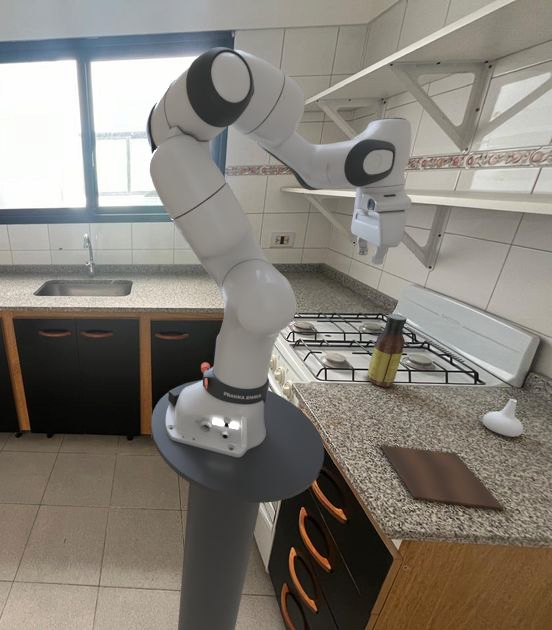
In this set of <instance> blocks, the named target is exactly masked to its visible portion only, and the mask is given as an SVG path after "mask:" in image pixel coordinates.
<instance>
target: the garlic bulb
mask: <svg viewBox="0 0 552 630" xmlns="http://www.w3.org/2000/svg"><path fill="white" fill-rule="evenodd" d="M517 403H518V400H517V399H515V398H509V400H508V402H507V403H506V404H505V406H504V407H503V408H502V409H501V410H500V411H496V410H495V411H490V412H487V413H486V414H484V415H483V417H482V424H483V426H485V428H486V429H488V430H490V431H492V432H494V433H496V434H499V435H501V436H505V437H513V438H515V437H519V436H521V435H522V434H523V433H524V425H523V422H521V420H519V418H517V417H516V408H517Z"/></svg>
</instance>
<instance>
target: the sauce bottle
mask: <svg viewBox="0 0 552 630" xmlns="http://www.w3.org/2000/svg"><path fill="white" fill-rule="evenodd" d="M407 319H408V318H407V317H406V316H405V315H402V314H398V313H389V314H388V315H387V317H386V323H385V326H384V329H383V331H382V332H380V334H379V335H378V336H377V338H376V340H375V343H374V346H373V350H372V354H371V357H370V361H369V366H368V370H367V376H366V378H367V380H368V381H369V382H370V383H371V384H373V385H375V386H379V387H385V388H387V387H391V386H393V384H394V381H395V379H396V377H397V373H398V370H399V366H400V364H401V363H400V362H401V359H402V357H403V352H404V348H405V344H406V343H405V342H406V340H405V338H404V335H403V333H404V332H403V330H404V327H405V324H407Z"/></svg>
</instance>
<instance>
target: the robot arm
mask: <svg viewBox="0 0 552 630" xmlns="http://www.w3.org/2000/svg"><path fill="white" fill-rule="evenodd" d="M305 107H306V98H305V93H304V91H303V89H302V88H301V87H300V85H299V84H298V83H297V82H296V81H295V80H294V79H293V78H292V77H290V76H289V75H288V74H286V73H285V72H284V71H283V70H281V69H279V68H278V67H276V66H275V65H273V64H272V63H270V62H268V61H266V60H264V59H263V58H261V57H259V56H257V55H255V54H252V53H249V52H246V51H243V50H241V49H232V48H229V47H226V46H225V47H224V46H216V47H212V48H210V49H208V50H206V51H205V52H203V53H202V54H200V55H199V56H198V57H196V58H195V59H194V60H193V61H192V62H191V64H190V66H189V67H188V68H187V69H186V70H184V71H183V72H182V73H181V74H180V75H179V76H178V77H177V78H176V79H175V80H173V81H172V82H170V84H169V85H168V87H167V88H166V89H165V91H164V92H163V93H162V95H161V96H160V98H159V100H158V101H156V103H154V105H153V106H152V107H151V109H150V112H149V114H148V116H147V119H146V124H145V135H146V141H147V143H148V145H149V147H150V151H151V157H150V158H149V161H148V174H149V177H150V179H151V183H152V185H153V187H154V189H155V191H156V194H157V196H158V198H159V200H160V202H161V204H162V206H163V207H164V209H165V211H166V213H167V214H168V216H169V217H170V219H171V221H172V222H173V223H174V225H175V227H176V228H177V230H178V232H179V234H180V235H181V236H182V238H183V239H184V241H185V242H186V244H187V246H188V248H190V250H191V252H192V253H193V255H194V257H196V259H197V260H198V261H199V263H200V264H201V265H202V267H203V268H204V269H205V271H206V272H207V274H208V276H209V277H210V279H211V280H212V281H213V283H214V284H215V286H216V287H217V289H218V291H219V292H220V295H221V297H222V300H223V305H224V307H223V308H224V312H223V318H222V322H221V327H220V331H219V333H218V334H217V336H216V338H215V339H216V340H215V349H214V358H213V359H214V360H213V366H211V365H210V363H208V362H202V363H201V365H200V371H201V373H202V379H200V380H201V381H199V380H198V381H199V382H197V383H195V384H192V385H190V386H187V387H185V386H181V385H180V386H181V387H178V386H177V387H178V388H176V387H175V389H174V388H172V389H170V390H168V392H169V397H168V401H170V402H171V403H170V405H169V407H168V409H167V412H166V418H165V427H166V432H167V434H168V436H169V437H170V439H171V440H173V441H177V442H180V443H184V444H188V445H192V446H195V447H199V448H203V449H207V450H210V451H214V452H218V453H222V454H226V455H229V456H233V457H241V456H243V455H244V454H245V453H246V451H247V450H249V449H251V448H253V447H256V446H257V445H259V444H260V443H262V441H263V440H264V438H265V436H266V429H265V424H264V403H265V401H266V397H267V395H268V390H269V388H270V379H269V372H270V366H271V360H272V354H273V350H274V347H275V344H276V342H277V339H278V338H279V335H280V333H281V332H282V331H283V330H284V329H286V328H287V327H288V326H289V325H290V324H291V323H292V322H293V320H294V318H295V316H296V313H297V309H298V308H297V307H298V303H297V298H296V295H295V292H294V290H293V288H292V287H293V286H292V285H291V283H290V281H289V280H288V279H287V277H286V276H284V275H283V274H282V273H281V272H280V271H279V270H278V269H277V268H276V267H275V266H274V265H273V264H272V263H271V262H270V260H269V258H268V257H267V256H266V254H265V253H264V251H263V249H262V247H261V244H260V242H259V240H258V238H257V236H256V235H255V231H254V230H253V227H252V225H251V222H250V220H249V218H248V216H247V214H246V212H245V211H244V209H243V207H242V205H241V204H240V201H238V199H237V197H236V195H235V193H234V192H233V190H232V188H231V186H230V184H229V183H228V181H227V179H226V178H225V176H224V174H223V172H222V171H221V169H220V168H219V167H218V164H216V162H215V161H214V159H213V156H212V153H211V144H210V142H211V141H213V140H214V139H215V138H216V137H217V136H218V135H220V134H221V133H223V131H224V130H225V129H227V128H228V127H230V126H231V127H232V128H233V129H235V130H236V131H238V132H239V133H241V134H242V135H244V136H246V137H247V138H249V139H251V140H253V141H254V142H256V144H257V145H258V146H259V147H260V148H262V150H264V151H265V152H266V153H267V154H269V156H271V157H273V158H274V159H275V160H277V161H278V162H279V163H280V164H282V165H283V166H285V167H286V168H287V169H288V170H289V171H290V172H291V173H292V174H293V176H294V177H295V179H296V181H297V182H298V184H299V185H300V186H301V187H302V188H303V189H305V190H307V191H321V190H341V189H356V191H355V197H354V207H353V208H354V209H353V214H352V220H351V224H350V233H351V234H352V235H354V236H356V243H357V254H358V255H359V256H367V255H368V252H369V247H368V243H370V244H372V245H374V250H375V251H374V255H372V258H371V263H373V265H383V264H384V261H385V256H386V255H387V253H388V251H389V248H397V247H399V245H400V244H401V242H402V240H403V235H404V233H405V228H406V223H407V217H408V215H407V214H408V213H407V211H409V210H411V208H412V198H411V197H410V196H409V195H408V194H407V192H406V190H405V185H406V179H405V170H406V169H407V166H408V164H409V161H410V155H411V147H412V135H413V134H412V124H411V122H410V121H409V119H406V118H403V117H383V118H379V119H375V120H373V121H370V122H369V123H368V124H367V127H366V128H365V129H364V130H363V131H362V132H360V133H359V134H357V135H356V136H354V137H352V138H351V139H349V140H345V141H344V140H343V141H337V142H331V143H324V144H323V143H321V144H315V143H310V142H308V141H307V140H306V139H305V138H304V137H302V136H301V134H299V133H298V132H297V131H296V130H297V128H298V127H299V126H300V123H301V122H302V118H303V116H304V113H305Z"/></svg>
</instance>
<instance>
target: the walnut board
mask: <svg viewBox="0 0 552 630" xmlns="http://www.w3.org/2000/svg"><path fill="white" fill-rule="evenodd" d="M380 449H381V451H382V452H383V453H384V455H385V457H386V458H387V459H388V461H389V463H390V465H391V466H392V468H393V469H394V471H395V472H396V474H397V475H398V476H399V478H400V480H401V482H402V483H403V484H404V486H405V488H406V489H407V491H408V492H409V494H410V496H411V497H412V498H413V500H414V499H415V500H420V501H429V502H436V503H444V504H451V505H459V506H465V507H473V508H481V509H482V508H483V509H489V510H497V511H503V510H504V508H505V507H504V506H503V505H502V504H501V503H500V502H499V501H498V500H497V498H496V497H495V496H494V495H493V494H492V493H491V492H490V491H489V489H488V488H486V486H485V485H484V484H483V483H482V482H481V481H480V479H479V478H478V477H477V476H476V475H475V473H474V472H472V470H471V469H470V468H469V467H468V466H467V465H466V463H464V461H463V460H462V459H461V458H460V457H459V455H457V453H455V452H453V453H451V452H443V451H434V450H425V449H416V448H407V447H400V446H389V445H381V446H380Z"/></svg>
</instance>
